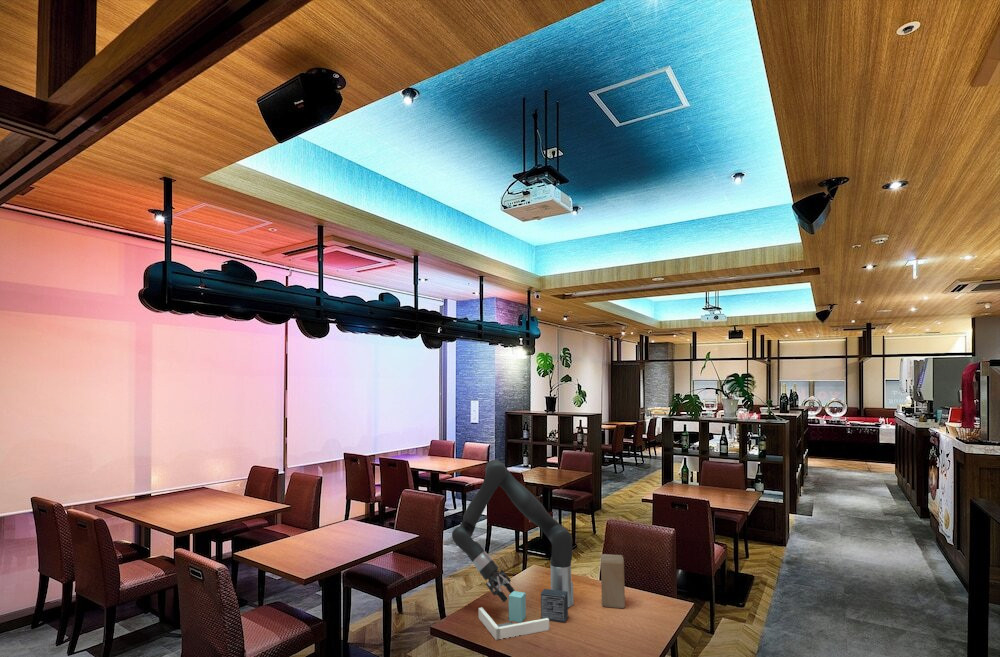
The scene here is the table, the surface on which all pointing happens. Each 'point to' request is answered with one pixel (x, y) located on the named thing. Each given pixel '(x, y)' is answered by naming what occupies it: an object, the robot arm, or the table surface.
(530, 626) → the white l-shaped bracket
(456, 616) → the table surface
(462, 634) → the table surface
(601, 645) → the table surface
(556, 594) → the small box
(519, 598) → the teal block
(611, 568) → the block
